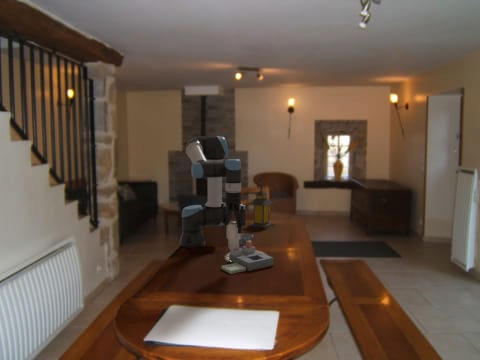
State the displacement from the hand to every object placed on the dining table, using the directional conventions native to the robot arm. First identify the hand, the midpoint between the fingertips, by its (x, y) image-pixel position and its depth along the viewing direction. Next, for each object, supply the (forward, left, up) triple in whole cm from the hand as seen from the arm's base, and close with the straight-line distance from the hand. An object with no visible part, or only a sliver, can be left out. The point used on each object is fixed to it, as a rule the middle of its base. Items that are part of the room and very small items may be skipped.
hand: (233, 238), depth 200 cm
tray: (0, 0, -16) cm, 16 cm away
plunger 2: (-10, +16, -10) cm, 21 cm away
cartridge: (0, 0, -4) cm, 4 cm away
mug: (-19, +20, -16) cm, 32 cm away
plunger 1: (-10, +8, -10) cm, 16 cm away
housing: (-4, +13, -16) cm, 21 cm away
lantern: (-70, +69, -16) cm, 100 cm away
